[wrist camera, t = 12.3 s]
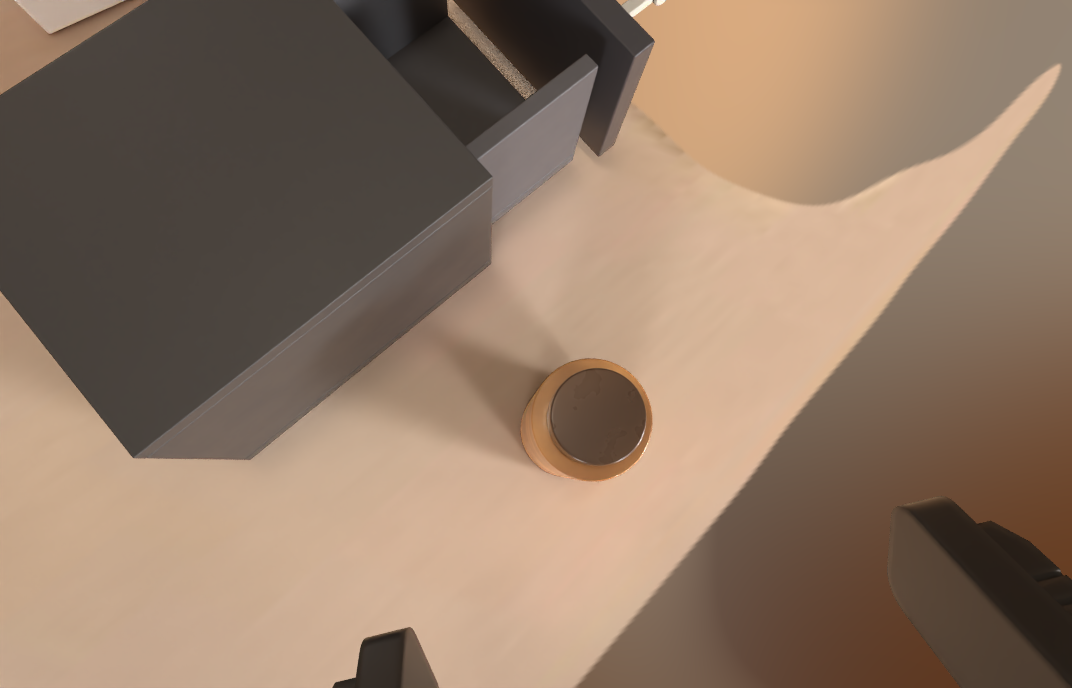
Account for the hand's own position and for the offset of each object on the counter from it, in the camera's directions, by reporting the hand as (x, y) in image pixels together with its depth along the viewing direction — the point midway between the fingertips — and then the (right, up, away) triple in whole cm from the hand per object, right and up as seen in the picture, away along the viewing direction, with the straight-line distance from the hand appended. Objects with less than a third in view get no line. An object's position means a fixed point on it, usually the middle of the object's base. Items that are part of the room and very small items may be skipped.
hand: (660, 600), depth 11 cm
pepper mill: (0, 0, +22) cm, 22 cm away
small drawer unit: (-15, +9, +23) cm, 29 cm away
